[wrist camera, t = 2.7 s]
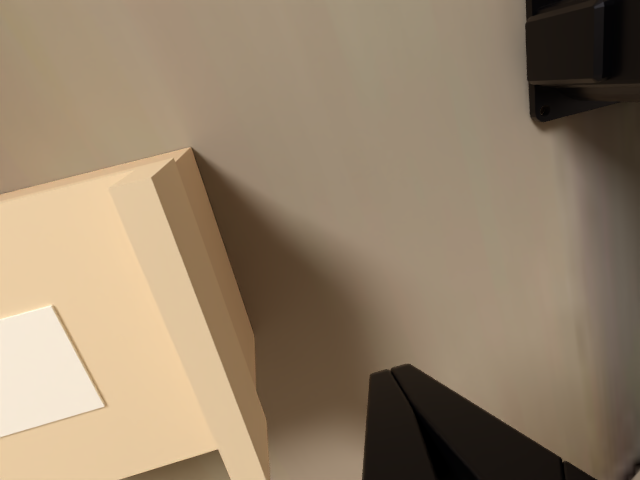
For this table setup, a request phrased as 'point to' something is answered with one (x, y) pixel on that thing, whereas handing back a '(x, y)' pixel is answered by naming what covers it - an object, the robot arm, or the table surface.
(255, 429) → the cream angled plate
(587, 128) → the table surface
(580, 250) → the table surface
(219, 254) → the base
